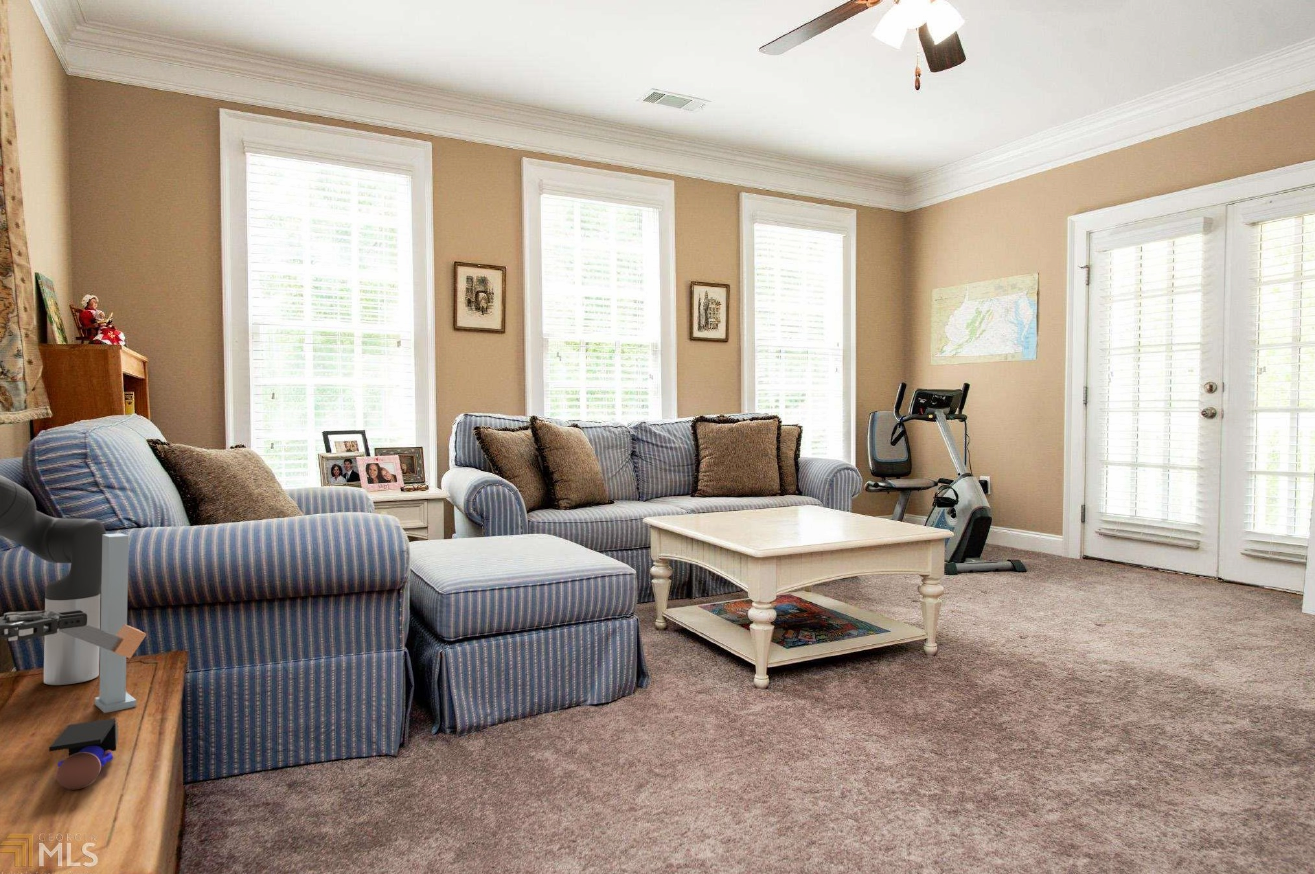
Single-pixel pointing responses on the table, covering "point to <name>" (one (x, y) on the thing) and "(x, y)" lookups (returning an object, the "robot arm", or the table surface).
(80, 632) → the grey handled tool
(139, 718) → the table surface
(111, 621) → the post
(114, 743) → the figurine character
